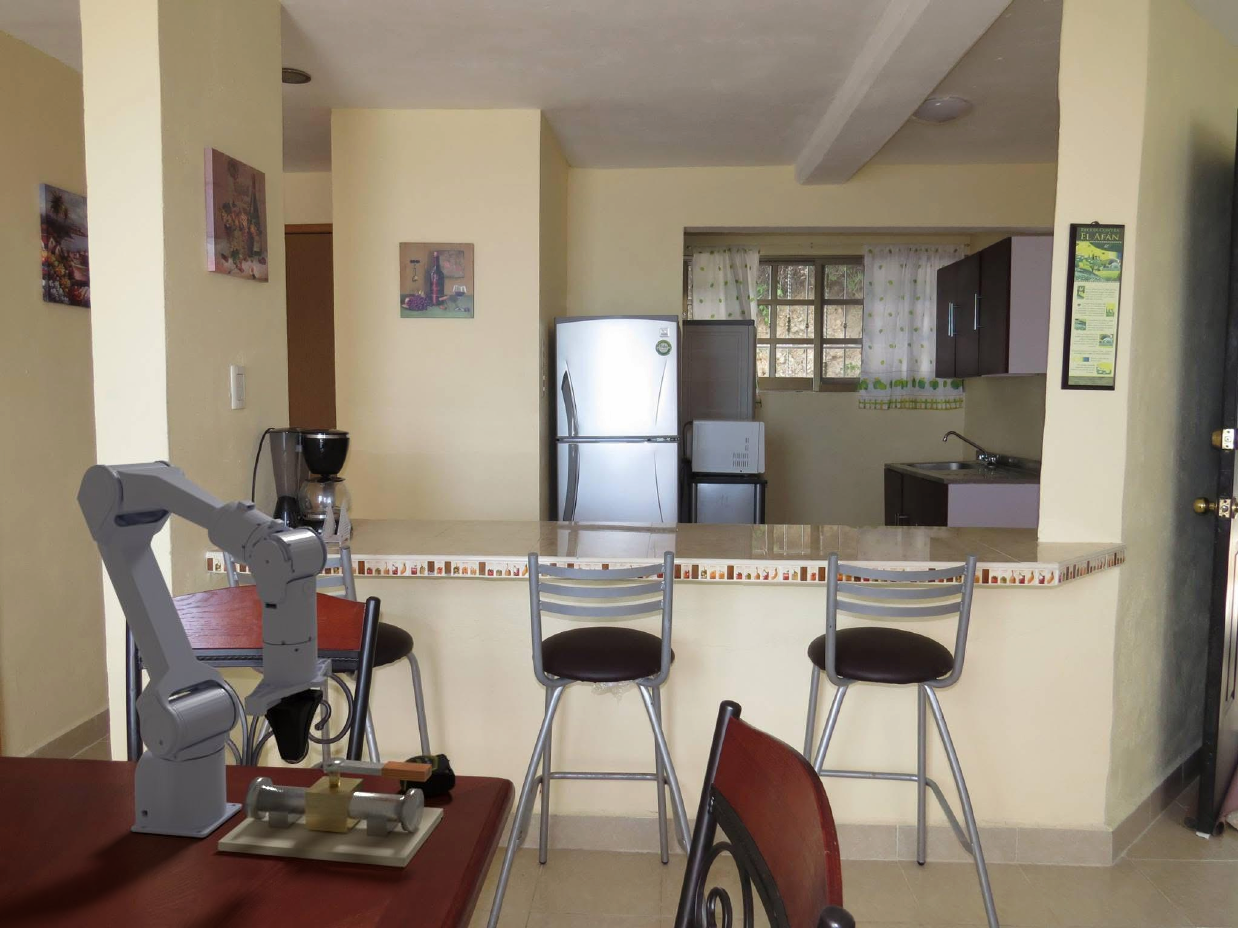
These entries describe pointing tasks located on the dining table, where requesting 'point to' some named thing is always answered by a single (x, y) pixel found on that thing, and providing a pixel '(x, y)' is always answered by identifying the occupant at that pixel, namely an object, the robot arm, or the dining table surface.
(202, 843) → the dining table surface
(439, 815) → the board
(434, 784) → the tape measure
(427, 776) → the valve lever
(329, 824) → the ball valve
